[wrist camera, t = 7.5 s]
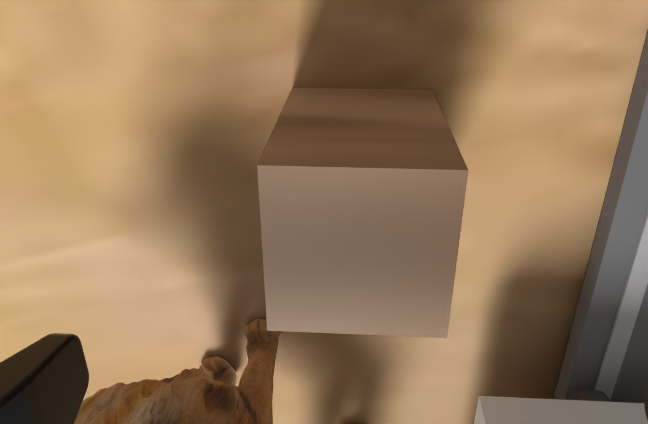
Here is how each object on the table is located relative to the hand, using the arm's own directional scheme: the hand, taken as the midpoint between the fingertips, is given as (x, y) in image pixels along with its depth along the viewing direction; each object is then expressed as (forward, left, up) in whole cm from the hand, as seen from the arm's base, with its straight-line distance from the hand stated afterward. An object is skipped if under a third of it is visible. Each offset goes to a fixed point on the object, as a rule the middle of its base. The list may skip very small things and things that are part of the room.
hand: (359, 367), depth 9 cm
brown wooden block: (0, 0, -9) cm, 9 cm away
